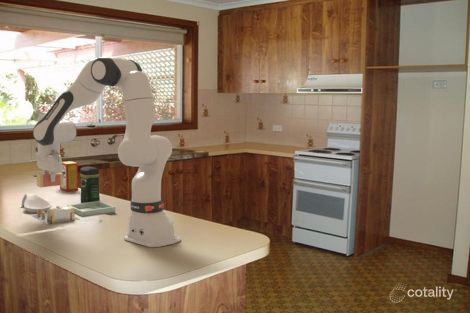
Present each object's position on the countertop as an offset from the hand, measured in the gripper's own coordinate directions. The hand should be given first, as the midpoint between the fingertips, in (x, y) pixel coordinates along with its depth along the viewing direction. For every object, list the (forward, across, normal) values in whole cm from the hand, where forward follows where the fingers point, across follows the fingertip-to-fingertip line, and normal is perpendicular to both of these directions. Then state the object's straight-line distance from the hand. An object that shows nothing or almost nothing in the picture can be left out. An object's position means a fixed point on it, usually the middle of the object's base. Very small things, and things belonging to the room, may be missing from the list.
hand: (50, 180), depth 208 cm
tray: (+17, -2, -18) cm, 24 cm away
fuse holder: (+16, -5, 0) cm, 17 cm away
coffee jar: (+17, +16, -26) cm, 35 cm away
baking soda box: (+16, +56, -32) cm, 67 cm away
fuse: (+2, 0, 0) cm, 2 cm away
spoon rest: (+17, +19, +1) cm, 25 cm away
